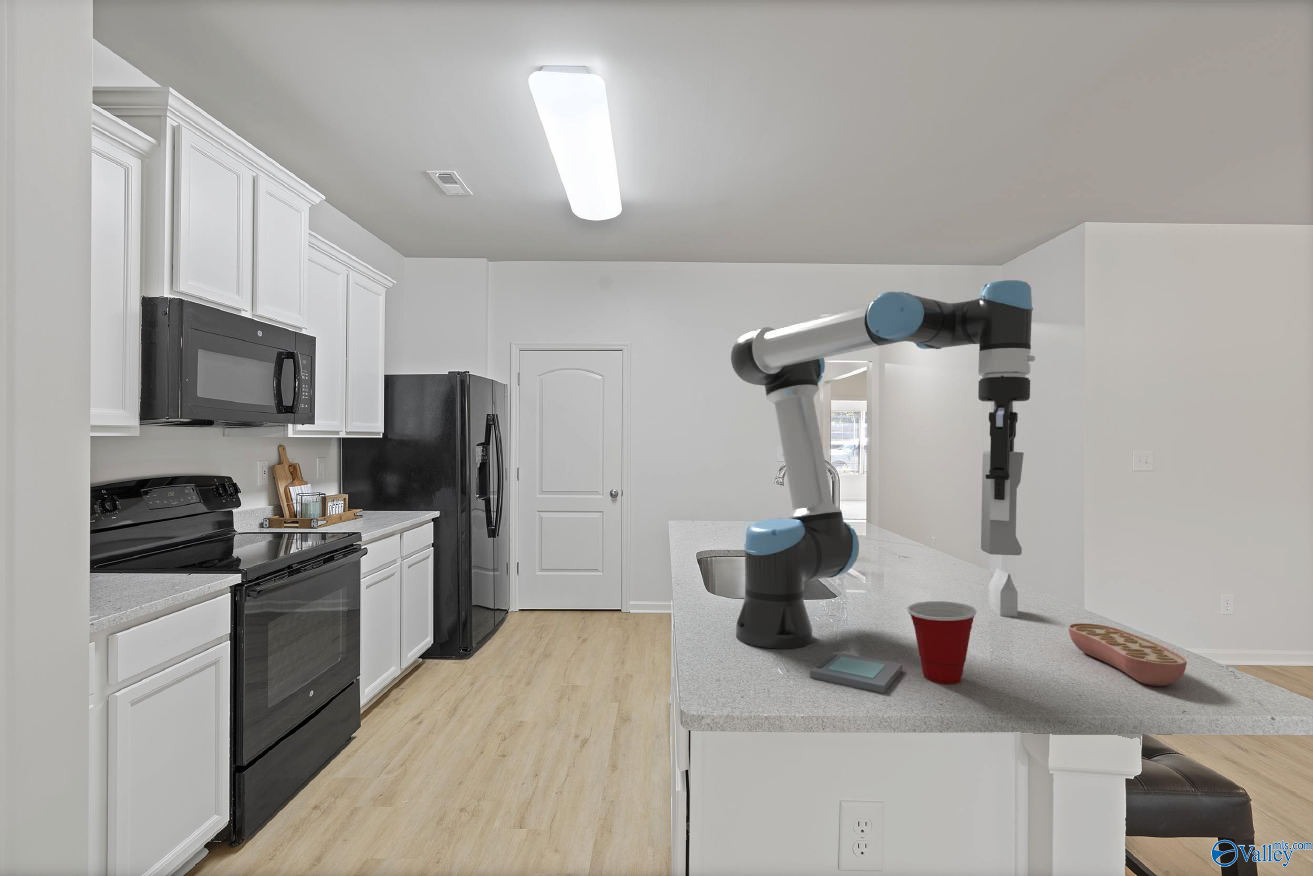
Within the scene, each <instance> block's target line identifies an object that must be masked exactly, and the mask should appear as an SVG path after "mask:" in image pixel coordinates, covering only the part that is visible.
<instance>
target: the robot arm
mask: <svg viewBox="0 0 1313 876" xmlns="http://www.w3.org/2000/svg"><path fill="white" fill-rule="evenodd" d="M1032 298H1033V296H1032V286H1031V285H1030V284H1029V283H1028V282H1027V281H1023V280H1018V279H1010V280H1009V279H1006V280H1004V279H1003V280H997V281H992V282H989V283H986V284H984V285H983V286H982V287H980V292H979V297H978V298H976V299H972V300H966V301H960V302H952V303H951V302H944V301H940V300H937V299H936V300H935V299H932V298H927V297H923V296H919V295H914V294H912V293H909V292H904V291H885V292H883V293H880V294H879V295H878V296H877V297H876V298H875V299H873V300H872V301H871V303H870V304H866V305H861V306H858V307H854V308H851V309H847V310H842V311H840V312H836V313H833V314H828V315H825V316H821V317H818V318H814V319H810V320H807V321H806V320H805V321H803V322H799V323H796V324H792V325H789V326H784V327H780V328H777V329H775V328H773V327H770V326H768V327H767V326H766V327H762V328H759V329H754V330H752V331H748V332H746V333H744V334H743V335H742V334H741V336H739V338H737V340H736V341H735V342H734V344H733V346H732V348H731V349H732V350H731V354H730V361H731V362H730V363H731V366H732V369H733V370H734V372H735V374H736V375H737V377H739V378H740V379H741V380H742V381H744V382H746V383H748V384H752V385H754V386H764V388H765V389H764V390H765V395H766V399H767V400H768V401H769V402H771V403H772V404H773V405H774V407H775V414H776V419H777V420H776V421H777V426H778V430H779V437H780V443H781V449H782V453H783V454H782V455H783V460H784V465H785V466H784V467H785V471H786V472H785V473H786V478H787V483H788V489H789V494H790V500H791V505H792V511H791V512H790V514H789V515H788V517H787V518H786V517H785V518H784V517H783V518H782V517H779V518H774V519H773V518H770V519H769V518H768V519H764V520H759V521H756V522H753V523H752V524H750V525H749V526H748V527H747V528H746V531H745V541H744V547H743V548H744V589H745V590H744V599H743V603H742V606H741V609H740V611H739V615H738V618H737V621H736V625H735V635H736V638H737V639H738V640H739V641H741V643H745V644H747V645H750V646H755V647H758V648H759V647H760V648H767V649H774V650H777V649H778V650H779V649H780V650H782V649H783V650H785V649H796V648H802V647H806V646H808V645H810V644H811V643H812V642H813V626H812V623H811V620H810V618H809V614H808V611H807V608H806V605H805V604H806V603H805V601H804V591H805V590H804V589H805V588H804V587H805V585H804V584H805V583H804V582H808V581H813V580H819V579H829V578H830V579H831V578H835V577H837V576H839V575H843V574H845V573H846V572H849V570H851V569H852V568H853V566H854V564H855V563H856V561H857V559H858V557H859V552H860V540H859V537H858V534H857V532H856V530H855V529H854V528H852V527H851V524H849V523H848V522H845V521H844V516H843V512H842V509H840V508H839V507H838V506H836V505H835V504H834V503H833V497H832V492H831V486H830V483H829V482H830V481H829V476H828V471H827V465H826V464H827V463H826V460H825V455H824V454H825V453H824V448H823V443H822V442H823V441H822V438H821V433H820V427H819V421H818V416H817V410H816V404H815V399H814V397H815V396H816V395H817V392H819V389H820V387H819V383H820V382H821V381H822V379H823V373H825V368H826V367H825V366H826V365H825V363H826V362H825V358H828V357H833V356H840V355H843V354H848V353H852V352H857V351H861V350H866V349H871V348H876V347H881V346H886V345H892V344H896V343H902V342H910V343H914V344H915V346H916V347H917V348H919V349H922V350H929V349H930V350H931V349H932V350H933V349H935V350H941V349H943V348H950V347H951V348H952V347H959V346H966V345H967V346H968V345H969V346H970V345H979V346H978V347H979V351H978V368H977V369H978V371H977V372H978V375H979V376H981V378H980V379H979V380H978V389H977V390H978V391H977V392H978V393H977V394H978V395H977V396H978V397H977V398H978V400H979V401H981V402H986V403H987V402H989V403H990V402H993V411H992V412H991V411H990V412H989V413H988V422H989V437H990V450H989V451H990V470H989V473H990V475H989V474H986V479H991V484H990V520H1002V521H1009V502H1010V480H1008V479H1009V477H1010V475H1009V457H1010V452H1015V451H1014V450H1015V438H1016V437H1017V423H1018V420H1019V417H1018V415H1019V414H1018V412H1016V411H1014V410H1013V409H1014V406H1013V404H1014V403H1013V402H1026V401H1029V400H1030V398H1031V379H1030V378H1029V377H1026V376H1027V375H1029V374H1030V373H1031V364H1030V363H1029V362H1035V361H1036V357H1035V355H1033V354H1032V355H1030V354H1031V349H1032V344H1031V340H1032V338H1031V337H1032V321H1033V320H1032V315H1033V311H1034V307H1033V302H1032V301H1033V300H1032Z"/></svg>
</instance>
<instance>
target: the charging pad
mask: <svg viewBox="0 0 1313 876" xmlns="http://www.w3.org/2000/svg"><path fill="white" fill-rule="evenodd" d="M902 672H903V664H902V663H898V662H892V661H886V660H882V659H877V658H871V657H865V656H860V655H855V654H851V653H845V652H838V651H833V652H831V653H830V654H828V656H826V657H825V658H824V659H823V660H821V661H820V662H818V664H816V665H815V666H813V667H812V668H811V669H810V670H809V678H811V679H816V680H820V681H825V682H830V683H834V684H837V685H838V684H839V685H843V686H847V687H853V688H857V689H860V690H861V689H862V690H867V691H870V692H875V693H881V694H884V693H885V692H886V691H888V688H889V687H891V685H892V684H893V682H894V681H895V680H896V679H897V678H898V676H899V675H900V674H902Z"/></svg>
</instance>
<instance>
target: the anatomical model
mask: <svg viewBox="0 0 1313 876" xmlns="http://www.w3.org/2000/svg"><path fill="white" fill-rule="evenodd" d="M1068 633H1069V637H1070V639H1071V641H1072V643H1073V644H1074V645H1075V647H1076V648H1077V649H1078V650H1079V651H1081V652H1083V653H1084V654H1086V655H1089V656H1091V657H1092V658H1095V659H1098V660H1099V661H1102V662H1104V663H1106V664H1108V665H1110V666H1113V667H1115V668H1116V669H1118V670H1120V671H1122V673H1123V672H1124V673H1125V674H1126V675H1127V676H1130V678H1133V679H1134V680H1135V681H1137V682H1139V683H1142V684H1145V685H1147V686H1150V687H1151V686H1152V687H1166V686H1169V685H1172V684H1175V683H1176V682H1178V681H1179V680H1180V679H1181V678H1182V676H1183V675H1184V674H1185V671H1186V668H1187V658H1185V657H1184V656H1183V655H1181V654H1179V653H1177V652H1175V651H1174V650H1171V649H1169V648H1168V647H1165V646H1164V645H1161V644H1159V643H1157V642H1155V641H1152V640H1150V639H1147V638H1144V637H1142V636H1140V635H1137V634H1134V633H1131V632H1128V631H1125V630H1122V629H1119V628H1116V627H1113V626H1108V625H1105V624H1104V625H1103V624H1095V623H1084V622H1083V623H1082V622H1080V623H1079V622H1078V623H1077V622H1076V623H1072V624H1069V625H1068Z"/></svg>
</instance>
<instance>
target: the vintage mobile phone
mask: <svg viewBox="0 0 1313 876" xmlns="http://www.w3.org/2000/svg"><path fill="white" fill-rule="evenodd" d="M1024 455H1025V454H1024V452H1020V451H1014V452H1010V457H1009V475H1010V477H1009V479H1008V480H1010V502H1009V521H1002V520H990V484H991V479H986V474H989V475H990V473H989V470H990V450H989V451H987V450H985V451H984V452H982V474H981V476H982V477H981V479H982V481H981V482H982V483H981V518H980V519H981V520H980V521H981V524H980V525H981V526H980V527H981V529H980V549H981V551H983V552H985V553H987V554H989V555H997V556H998V555H1000V556H1001V555H1002V556H1021V555H1022V554H1023V551H1022V546H1021V544H1020V542H1019V539H1018V538H1017V498H1018V497H1017V494H1018V493H1017V491H1018V490H1017V489H1018V488H1019V485H1020V484H1021V478H1022V470H1023V462H1024Z"/></svg>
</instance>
